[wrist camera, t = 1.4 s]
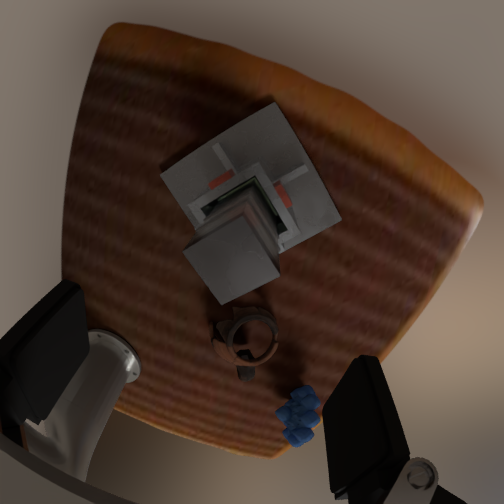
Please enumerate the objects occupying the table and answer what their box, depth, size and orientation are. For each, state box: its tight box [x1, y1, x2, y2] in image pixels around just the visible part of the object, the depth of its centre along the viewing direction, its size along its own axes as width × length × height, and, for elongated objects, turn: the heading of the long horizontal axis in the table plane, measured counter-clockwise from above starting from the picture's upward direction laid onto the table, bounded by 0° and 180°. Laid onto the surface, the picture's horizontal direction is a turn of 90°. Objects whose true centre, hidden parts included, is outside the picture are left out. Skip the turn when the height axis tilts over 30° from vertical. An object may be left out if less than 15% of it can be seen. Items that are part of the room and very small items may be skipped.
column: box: [182, 175, 281, 305], centre depth 25 cm, size 4×4×19 cm
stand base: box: [160, 102, 342, 254], centre depth 30 cm, size 16×16×11 cm
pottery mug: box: [209, 306, 278, 382], centre depth 40 cm, size 12×10×8 cm
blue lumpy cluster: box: [275, 385, 321, 447], centre depth 42 cm, size 12×7×12 cm, turn 165°
